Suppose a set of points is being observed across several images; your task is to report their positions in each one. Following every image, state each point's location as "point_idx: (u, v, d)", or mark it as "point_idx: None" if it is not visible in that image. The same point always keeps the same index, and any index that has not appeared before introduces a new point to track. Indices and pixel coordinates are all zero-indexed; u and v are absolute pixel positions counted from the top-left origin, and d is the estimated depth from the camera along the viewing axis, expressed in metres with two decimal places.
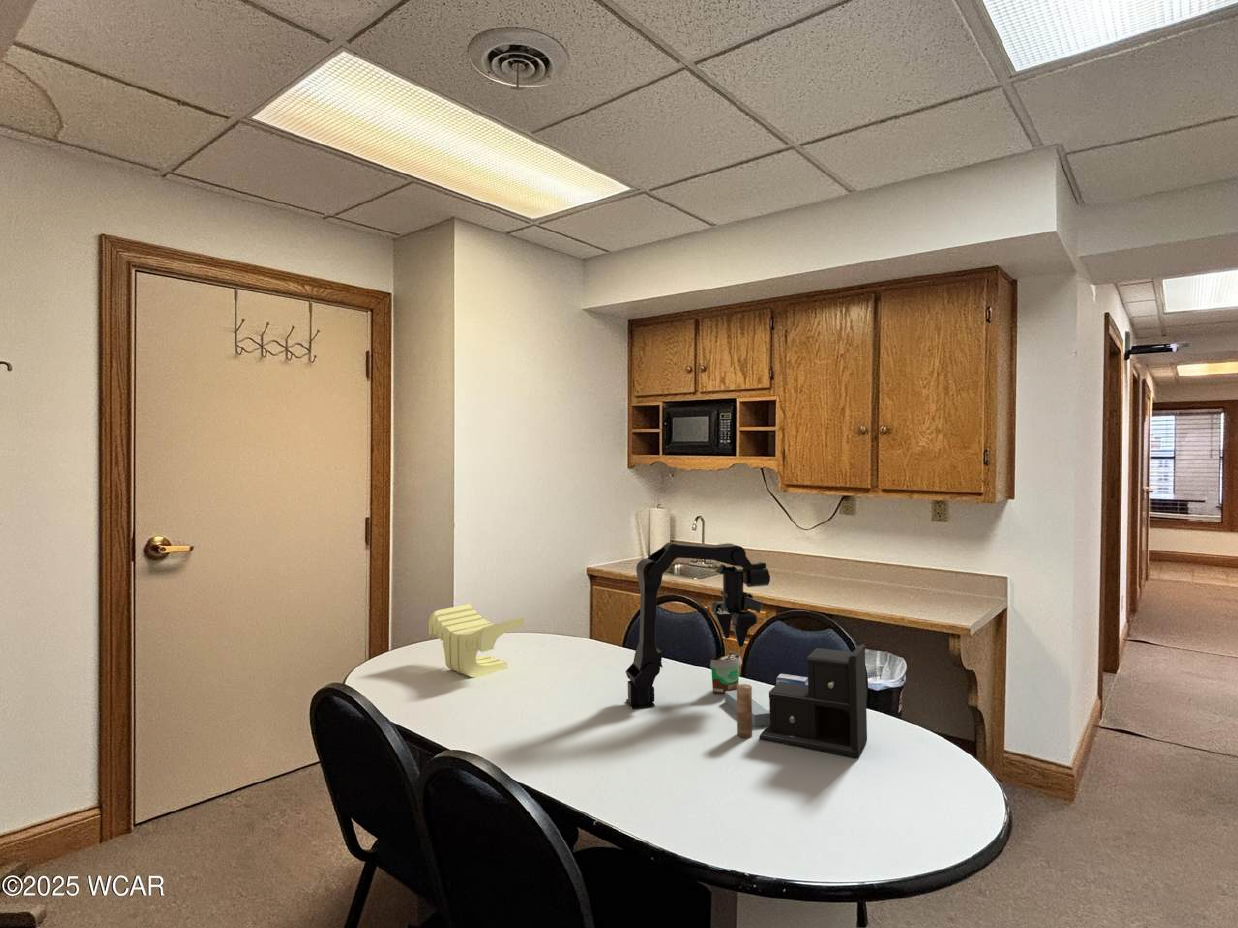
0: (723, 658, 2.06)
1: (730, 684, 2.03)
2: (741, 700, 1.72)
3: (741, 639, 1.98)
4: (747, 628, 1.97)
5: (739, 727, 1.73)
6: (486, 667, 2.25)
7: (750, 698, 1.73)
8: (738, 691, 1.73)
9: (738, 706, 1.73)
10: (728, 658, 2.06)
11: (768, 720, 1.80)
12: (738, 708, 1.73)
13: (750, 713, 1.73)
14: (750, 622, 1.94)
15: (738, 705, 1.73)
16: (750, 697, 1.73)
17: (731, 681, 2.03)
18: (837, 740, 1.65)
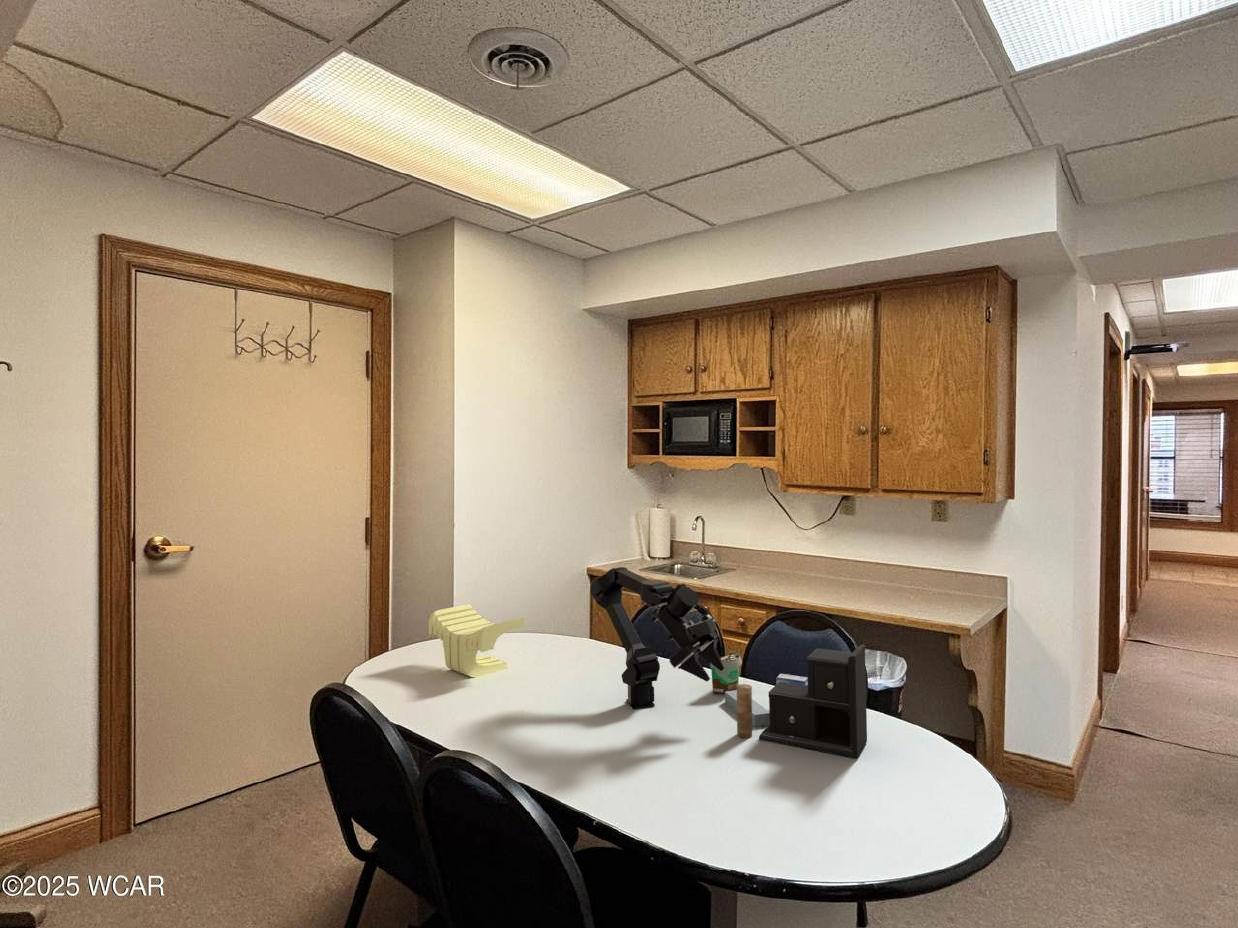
0: (723, 658, 2.06)
1: (730, 684, 2.03)
2: (741, 700, 1.72)
3: (701, 674, 1.75)
4: (694, 661, 1.74)
5: (739, 727, 1.73)
6: (486, 667, 2.25)
7: (750, 698, 1.73)
8: (738, 691, 1.73)
9: (738, 706, 1.73)
10: (729, 658, 2.06)
11: (768, 720, 1.80)
12: (738, 708, 1.73)
13: (750, 713, 1.73)
14: (681, 657, 1.73)
15: (738, 705, 1.73)
16: (750, 697, 1.73)
17: (731, 681, 2.03)
18: (837, 741, 1.65)
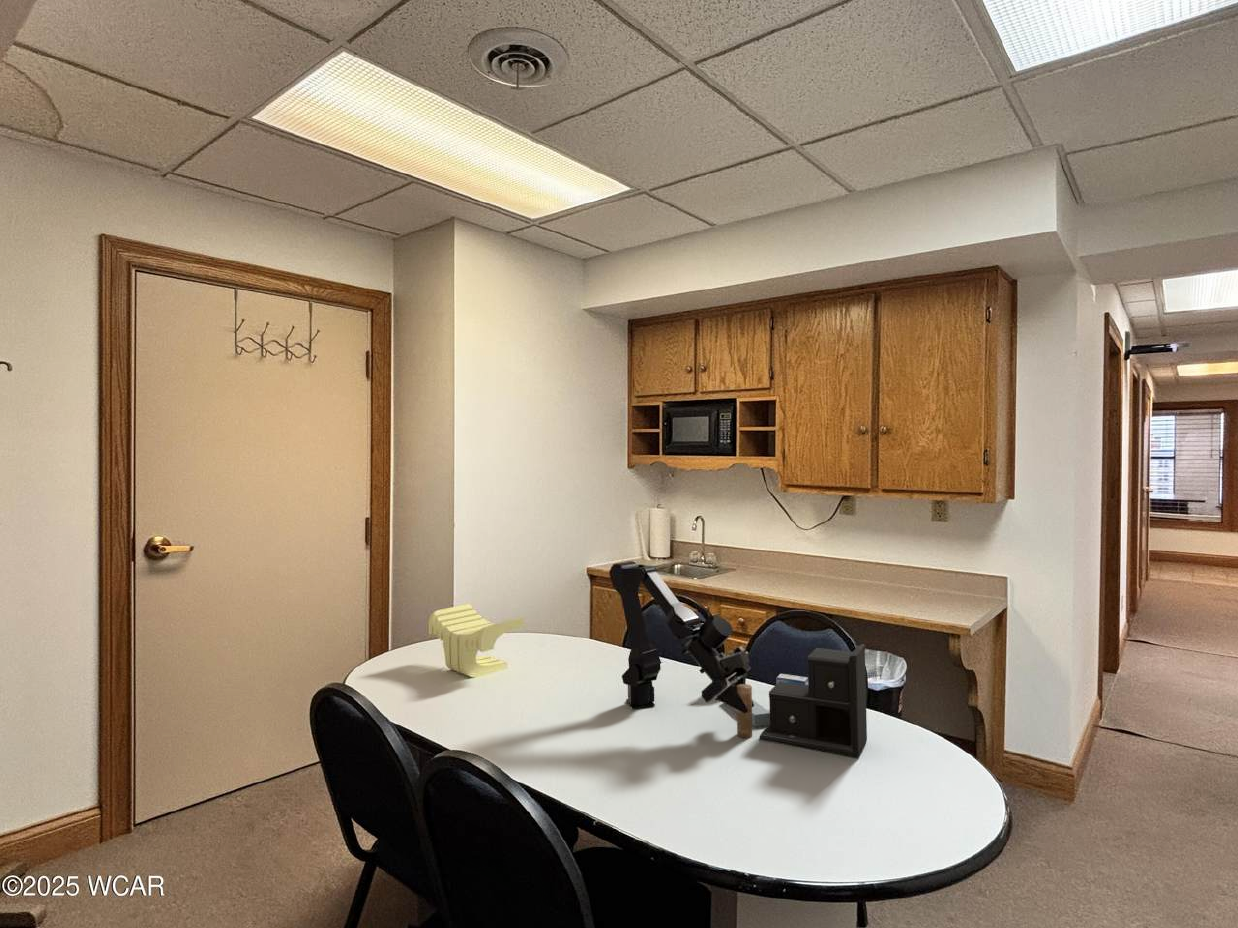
0: None
1: None
2: None
3: (739, 706, 1.72)
4: (731, 692, 1.71)
5: (739, 727, 1.73)
6: (486, 667, 2.25)
7: (750, 698, 1.73)
8: (738, 691, 1.73)
9: None
10: None
11: (768, 720, 1.80)
12: None
13: (750, 713, 1.73)
14: (714, 692, 1.68)
15: None
16: (750, 697, 1.73)
17: None
18: (837, 740, 1.65)
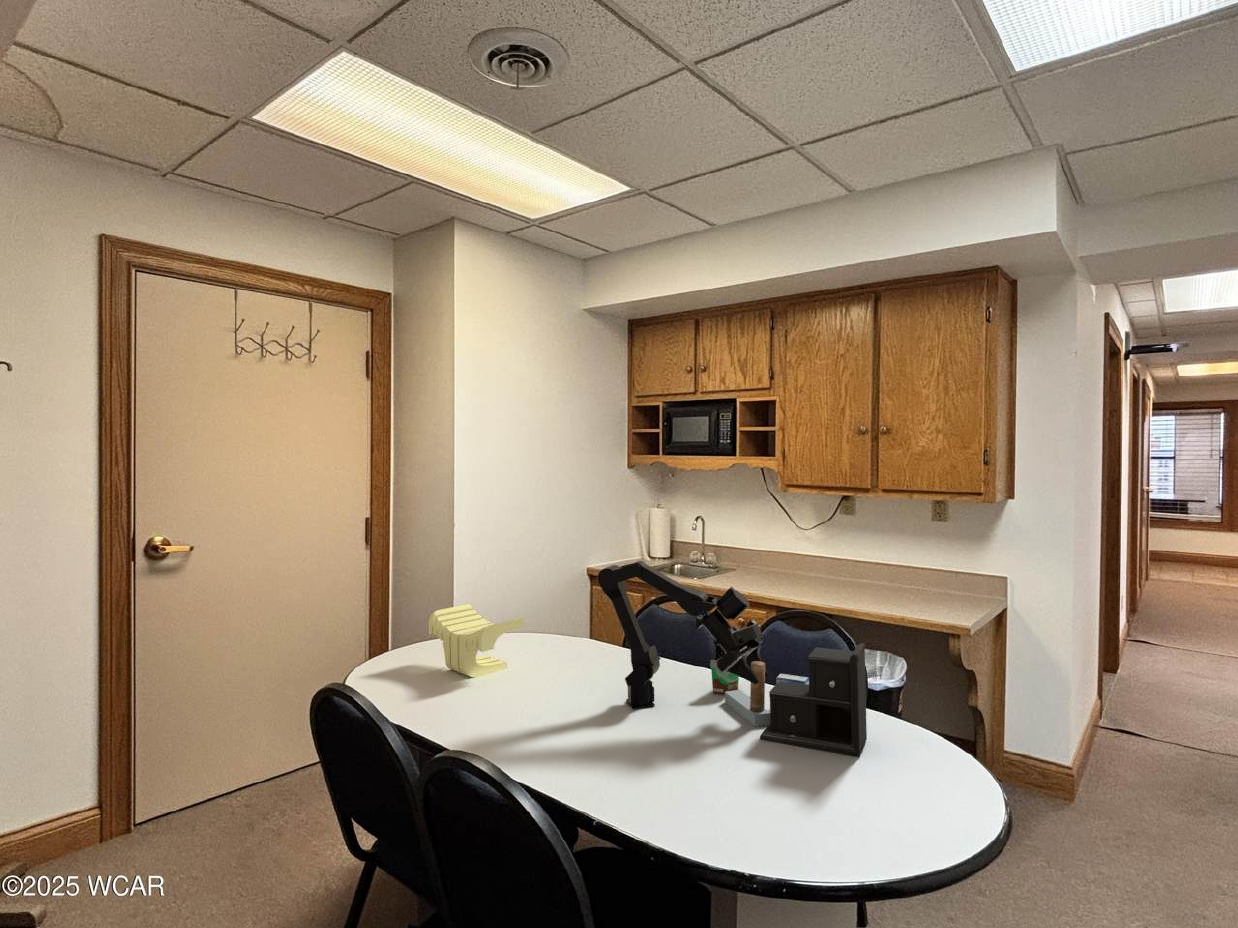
0: None
1: (730, 684, 2.03)
2: None
3: (749, 677, 1.79)
4: (743, 664, 1.79)
5: (752, 702, 1.81)
6: (486, 667, 2.25)
7: (763, 674, 1.81)
8: (752, 668, 1.81)
9: None
10: None
11: (768, 720, 1.80)
12: (752, 684, 1.81)
13: (763, 688, 1.81)
14: (729, 662, 1.76)
15: None
16: (763, 673, 1.81)
17: (731, 681, 2.03)
18: (838, 739, 1.66)
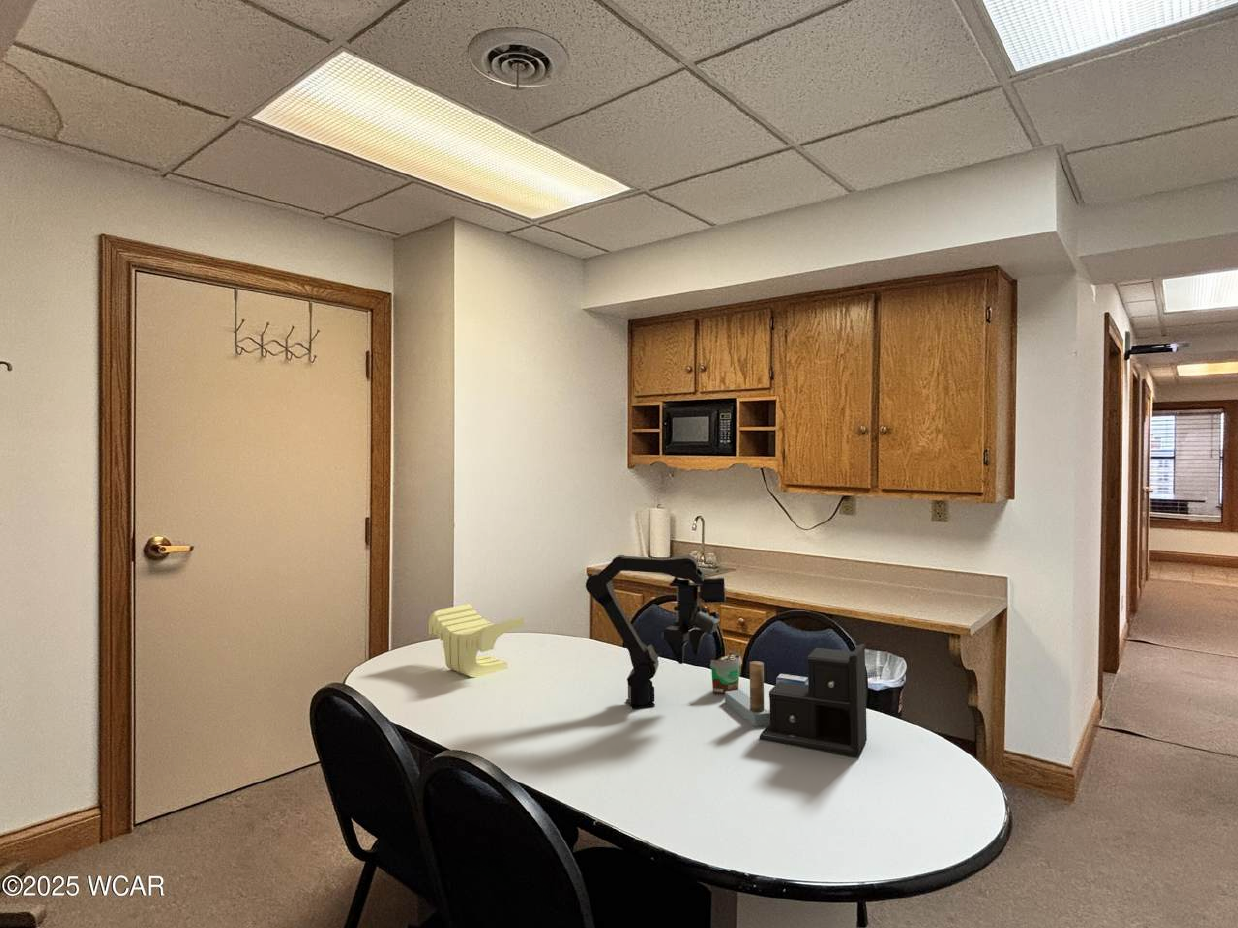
0: (723, 658, 2.06)
1: (730, 684, 2.03)
2: (754, 676, 1.81)
3: (678, 656, 1.89)
4: (681, 645, 1.87)
5: (752, 702, 1.81)
6: (486, 667, 2.25)
7: (762, 674, 1.81)
8: (751, 668, 1.81)
9: (751, 682, 1.82)
10: (728, 658, 2.06)
11: (768, 720, 1.80)
12: (751, 684, 1.82)
13: (762, 688, 1.81)
14: (674, 639, 1.85)
15: (751, 681, 1.82)
16: (762, 673, 1.81)
17: (731, 681, 2.03)
18: (837, 740, 1.65)
